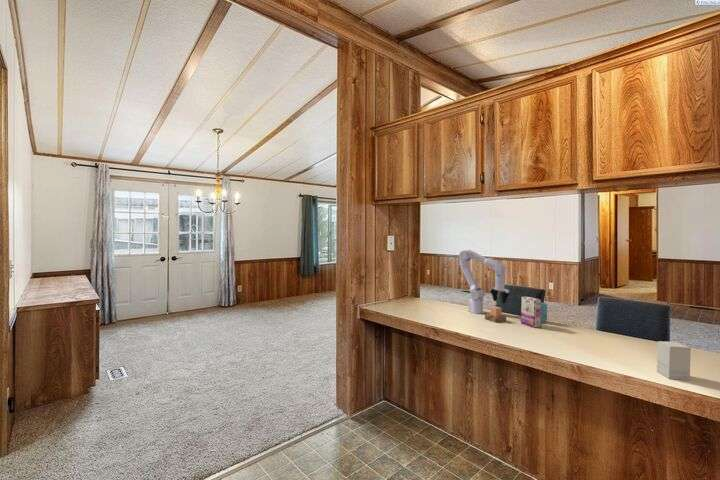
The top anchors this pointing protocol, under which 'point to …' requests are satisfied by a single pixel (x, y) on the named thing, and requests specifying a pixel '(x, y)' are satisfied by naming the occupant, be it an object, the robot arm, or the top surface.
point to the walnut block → (495, 318)
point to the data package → (543, 312)
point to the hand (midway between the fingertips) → (499, 302)
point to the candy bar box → (531, 311)
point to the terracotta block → (496, 311)
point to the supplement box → (673, 360)
